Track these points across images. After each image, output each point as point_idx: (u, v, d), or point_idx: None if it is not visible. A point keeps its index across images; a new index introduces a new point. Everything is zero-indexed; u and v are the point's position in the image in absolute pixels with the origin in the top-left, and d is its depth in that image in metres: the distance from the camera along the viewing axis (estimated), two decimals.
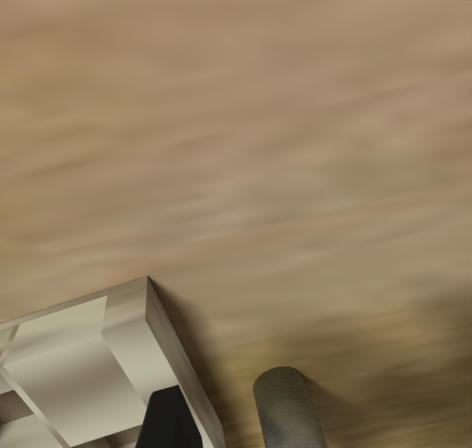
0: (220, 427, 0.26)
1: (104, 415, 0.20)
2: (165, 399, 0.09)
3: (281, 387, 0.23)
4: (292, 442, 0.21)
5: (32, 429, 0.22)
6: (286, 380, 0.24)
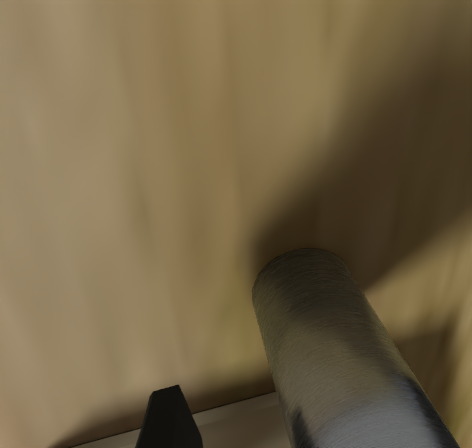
0: None
1: None
2: (165, 399, 0.09)
3: (260, 331, 0.12)
4: (290, 444, 0.09)
5: None
6: (259, 309, 0.12)
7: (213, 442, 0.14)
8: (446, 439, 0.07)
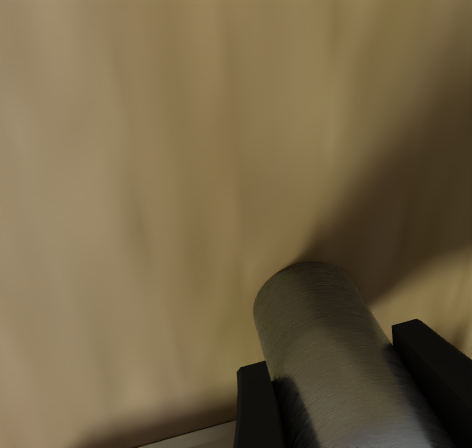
0: None
1: None
2: (255, 373, 0.09)
3: (262, 350, 0.11)
4: None
5: None
6: (261, 327, 0.11)
7: None
8: None
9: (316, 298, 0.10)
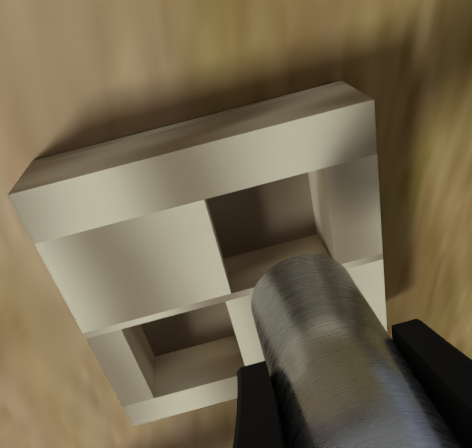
0: (327, 87, 0.16)
1: (181, 254, 0.16)
2: (255, 373, 0.09)
3: (260, 339, 0.11)
4: None
5: None
6: (259, 316, 0.11)
7: (193, 129, 0.15)
8: None
9: (314, 287, 0.11)
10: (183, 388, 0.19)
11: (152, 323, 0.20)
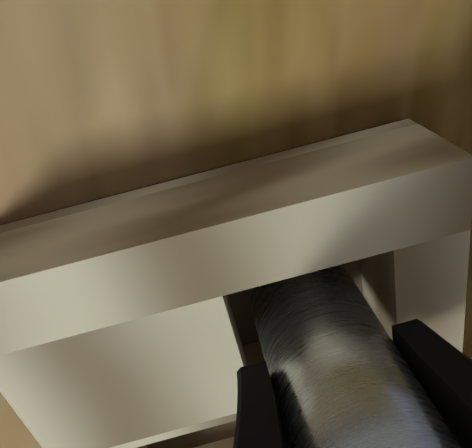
0: (392, 129, 0.12)
1: (188, 365, 0.11)
2: (255, 373, 0.09)
3: (259, 339, 0.11)
4: None
5: None
6: (259, 316, 0.11)
7: (206, 191, 0.11)
8: None
9: (314, 287, 0.11)
10: None
11: None
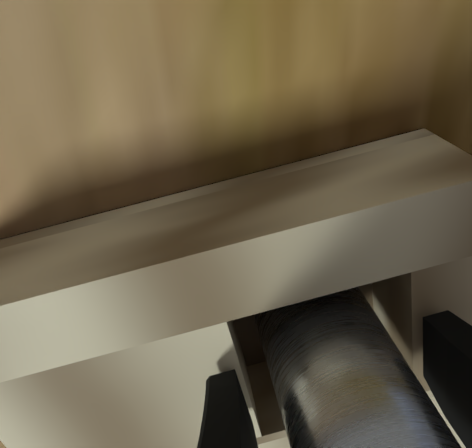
0: (407, 140, 0.11)
1: (189, 394, 0.10)
2: (223, 382, 0.09)
3: (260, 337, 0.11)
4: None
5: None
6: (259, 314, 0.12)
7: (208, 207, 0.10)
8: None
9: None
10: None
11: None
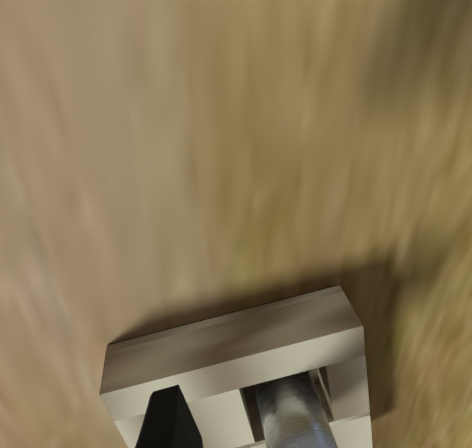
0: (329, 294, 0.22)
1: (219, 421, 0.21)
2: (165, 398, 0.09)
3: (254, 391, 0.22)
4: None
5: None
6: None
7: (230, 331, 0.21)
8: None
9: None
10: None
11: None
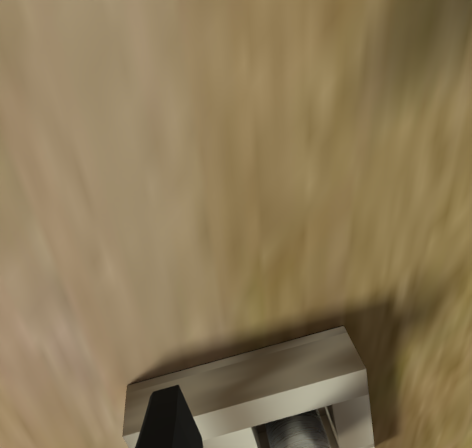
0: (334, 335, 0.23)
1: None
2: (165, 398, 0.09)
3: (265, 425, 0.24)
4: None
5: None
6: None
7: (241, 372, 0.22)
8: None
9: None
10: None
11: None
